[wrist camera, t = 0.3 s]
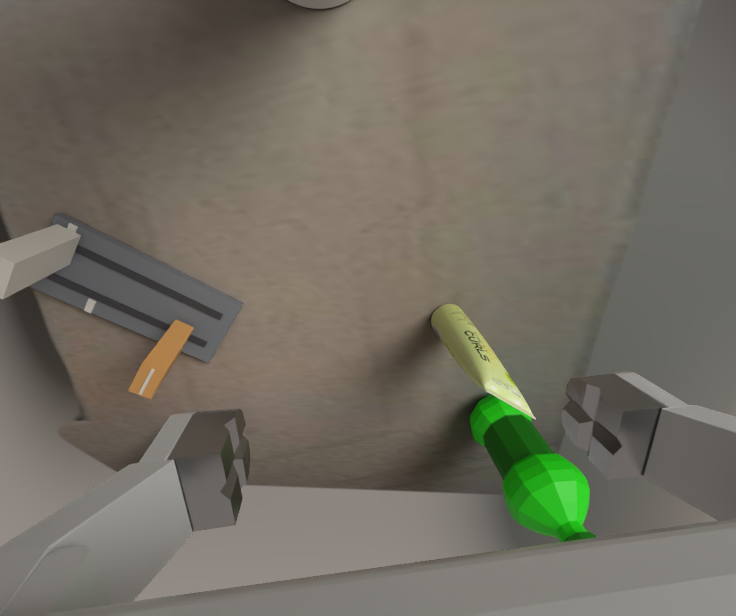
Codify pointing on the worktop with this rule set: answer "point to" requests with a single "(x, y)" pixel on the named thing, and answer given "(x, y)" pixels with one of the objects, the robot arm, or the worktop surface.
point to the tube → (476, 355)
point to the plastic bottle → (532, 472)
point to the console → (138, 291)
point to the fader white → (35, 257)
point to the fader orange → (160, 360)
